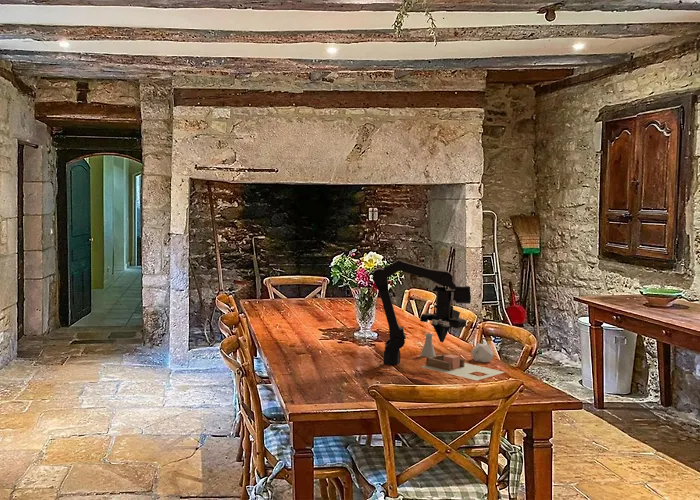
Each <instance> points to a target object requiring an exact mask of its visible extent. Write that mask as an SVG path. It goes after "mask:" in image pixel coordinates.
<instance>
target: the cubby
mask: <svg viewBox="0 0 700 500" xmlns="http://www.w3.org/2000/svg"><path fill="white" fill-rule="evenodd" d="M446 355H447V354H443V353H440V354H438V355H437V354H436V356H433V357H426V359H425V360H426V361H425V364H426V365H425V366H431V367H435V368H439V369H443V370H447V371H450V370H451V363H450V362H446V361H443V358H444V356H446ZM464 363H466V362H465V358H461V357H460V367H464Z"/></svg>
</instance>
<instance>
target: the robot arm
mask: <svg viewBox="0 0 700 500" xmlns="http://www.w3.org/2000/svg"><path fill="white" fill-rule="evenodd" d="M398 272H404V273H407V274H411V275H415V276H417V277H421V278H425V279H428V280H430V281H432V282H433V283H435V285H434V287H432V288H431V291H432V292H436V296H435V297H436V298H435V300H436V303H435V304H434V305H433V308H434V309H435V314H434V313H430V312H427V313H422V314H421V315H420V317H419V321H420V322H422V323H427V322H428V321H432V322H431V324H430V325H431V326H432V327H433V330H434V331H435V333H436V335H437V337H438V340H439V342H440V343H444V342H445V340H446V337H447V335H448V332H449V330H450V329H451V328H454V329H460V328H466V327H467V321H466V319H463V318H460V315H461V311H458V310H456V309H454V305H452V301H454V303H455V304H464V305H465V304H467V305H468V304H471V301H472V295H471V287H470V286H468V285H464V286H460V285H459V286H458V285H457V284H456V283H455V282H453V276H452V274H451V272H449V270H445V269H435V268H434V269H433V268H427V267H424V266H421V265H417V264H413V263H411V262H407V261H404V260H402V259H397V260H395V261H393V262H392V263H390V264H387V265H385V266H383V267H377V268H375V269H374V270H373V272H372V275H371V277H372V281H373V283H374V285H375V287H376V289H377V291H378V293H379V296H380V299H381V300H380V301H381V303H382V306H383V310H384V314H385V318H386V321H387V324H388V332H389V339H388V340H387V341H386V342H385V343H384V351H383V362H382V363H381V364H380V366H384V365H387V366H397V365H400V364H401V350H400V349H401V348H403V347H404V345H405V343H406V342H405V341H406V339H407V335H406V333H405V332H404V331H405V330H404V325H402V326H400V325H399V323H398V320H397V315H396V312H395V309H394V305H393V301H392V299H391V295H390V291H389V281H388V279H389V277H392V276H393V275H394V274H396V273H398ZM438 285H440V286H438ZM446 287H448V288H449V289H447V288H446Z"/></svg>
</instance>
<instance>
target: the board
mask: <svg viewBox="0 0 700 500" xmlns="http://www.w3.org/2000/svg"><path fill="white" fill-rule="evenodd" d="M421 368H423V369H428V370H431V371H435V372H439V373H444V374H448V375H452V376H455V377H456V376H457V377H460V378H464V379H469V380H472V381H476V382H477V381H480V380H484V379H486V378H491V377H493V376H498V375H500V374H503V373H505V371H501V370H498V369H493V368H489V367H484V366H479V365H475V364H471V363H467V362H465V363H464V367H460V368H457V369H453V370H452V369H451V370H450V371H447V370H443V369H439V368H435V367H431V366H426V365H422V366H421ZM476 372H477V373H482V374H485V375H481V376H479V375H474V374H473V373H476Z"/></svg>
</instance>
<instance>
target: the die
mask: <svg viewBox="0 0 700 500" xmlns="http://www.w3.org/2000/svg"><path fill="white" fill-rule="evenodd" d="M470 353H471V356H472V358H473V360H474V362H478V363H490V362H491V360H492V359H493V358H494V357H495V356H494V353H493V351H492V348H491V345H490V344H485V343H477V344H476V345H475V346H474V347H473V348H472V349H471V351H470Z"/></svg>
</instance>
